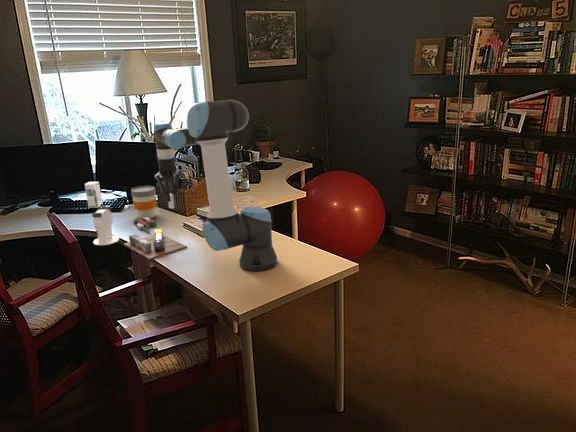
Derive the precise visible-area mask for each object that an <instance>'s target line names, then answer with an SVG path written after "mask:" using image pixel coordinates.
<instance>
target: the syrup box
mask: <svg viewBox="0 0 576 432" xmlns="http://www.w3.org/2000/svg"><path fill="white" fill-rule="evenodd" d="M84 189H85V194H86V199H87V204H88V205H87V207H88V209H89V208H98V207H99V206H100V205H101V204H102V205H103V200H102V194H101V187H100V182H99V181H88V182H86V183H84ZM98 209H99V208H98Z"/></svg>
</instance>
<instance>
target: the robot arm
mask: <svg viewBox="0 0 576 432" xmlns="http://www.w3.org/2000/svg"><path fill="white" fill-rule="evenodd" d="M186 115H187V116H186V117H187V118H186V124H187V125H186V127H184V128H176V129H173V126H172V123H171V122H170V121H159V122H156V123H154V125H153V129H154V131H153V133H154V139H155V147H156V154H157V155H156V157H157V158H158V159H157V165H158V172H157V173H155V174H154V178H155V180H156V182H157V184H158V187H159V190H160V193H161V194H162V195H165V197H166V198H165V199H166V202H167V203H168V208H169V209H175V208H176V207H175V201H176V195H177V193H178V192H179V187H180V180H181V174H182V170H180V169H177V165H176V158H175V156H176V155H175V150H180V149H183V147H188V146H189V147H190V146H195V145H199V146H200V148H201V157H202V163H203V170H204V178H205V184H206V190H207V196H208V197H207V198H208V204H209V212H208V213H207V215H206V221H205V222H203V223H202V234H203V236H204V240H205V241H206V243H207V245H208V246H209V248H210V249H212V250H213V251H216V252H219V251H227V250H228V249H232V248H235V247H238V246H242V248H241V252H240V256H239V261H238V262H239V267H240V268H241V269H242V270H245V271H247V272H263V271H264V272H266V271H269V270H271V269H273V268H275V267H276V266H277V265H278V257H277V254H276V251H275V249H274V247H273V237H272V233H273V232H272V218H271V216H272V215H271V212H270V211H269V210H268V209H267V208H265V207H259V206H243V207H242V208H241V209H239V210H240V211H238V210H237V209H236V208H234V205H233V197H232V196H233V195H232V190H231V189H232V188H231V181H230V180H231V179H230V173H229V166H228V158H227V151H226V142H227V141H228V139H229V134H230V133H236V132H238V131H241V130H243V129H244V128H245V127H246V126H247V125H248V122H249V120H250V114H249V110H248V109H247V107H246V106H245V105H244V103H242V102H240V101H238V100H235V99H225V100H223V99H222V100H213V101H211V100H208V101H201V102H196V103H193V104H192V105H191V106H190V107H189V109H188V111H187V114H186ZM228 133H229V134H228Z"/></svg>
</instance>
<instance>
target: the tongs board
mask: <svg viewBox="0 0 576 432" xmlns="http://www.w3.org/2000/svg"><path fill="white" fill-rule="evenodd" d="M128 238H129V241H128V242H125V243H123V246H125V247H126V248H128V249H129V250H131V251H132V252H134V253H137V254H138V255H140V256H141V257H144V259H146V260H148V261H152V260H154V259H158V258H161V257H163V255H164V256H167V255H170V254H173V253H175V252H179V250H180V251H182V249H183V250H186V249H188V246H187V245H185V244H183V243H181V242H179V241H176V240H175V239H172V238H171V237H169V236H166V235H164V234H163V240H164V246H165V250H164V251H160V252H156V251H154V244H153V241H154V240H156V238H155V234H153V235H149V236H145V237H141V236H139V235H138V234H136V233H135V234H130V235H128ZM185 248H186V249H185ZM166 254H167V255H166Z"/></svg>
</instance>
